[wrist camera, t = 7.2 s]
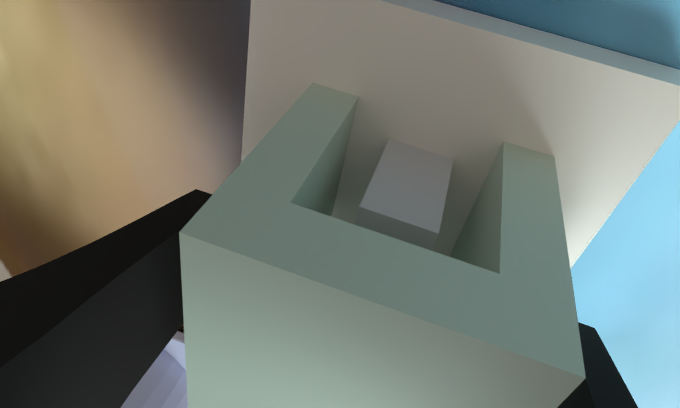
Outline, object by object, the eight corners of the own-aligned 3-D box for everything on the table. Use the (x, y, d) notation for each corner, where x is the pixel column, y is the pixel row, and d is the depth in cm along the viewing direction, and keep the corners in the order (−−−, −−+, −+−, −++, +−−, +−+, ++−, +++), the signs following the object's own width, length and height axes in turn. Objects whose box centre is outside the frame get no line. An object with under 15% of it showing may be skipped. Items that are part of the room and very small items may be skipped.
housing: (452, 336, 13) (426, 543, 9) (282, 275, 13) (190, 444, 10) (554, 156, 9) (585, 377, 5) (312, 82, 10) (179, 232, 6)
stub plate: (479, 367, 15) (471, 481, 12) (246, 281, 16) (190, 370, 13) (683, 70, 8) (762, 169, 6) (274, -45, 9) (178, -6, 7)
